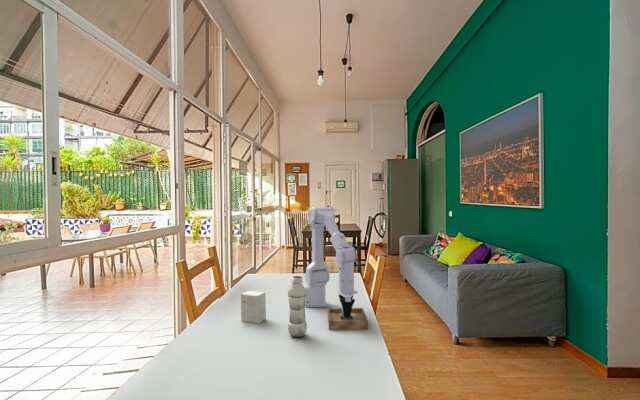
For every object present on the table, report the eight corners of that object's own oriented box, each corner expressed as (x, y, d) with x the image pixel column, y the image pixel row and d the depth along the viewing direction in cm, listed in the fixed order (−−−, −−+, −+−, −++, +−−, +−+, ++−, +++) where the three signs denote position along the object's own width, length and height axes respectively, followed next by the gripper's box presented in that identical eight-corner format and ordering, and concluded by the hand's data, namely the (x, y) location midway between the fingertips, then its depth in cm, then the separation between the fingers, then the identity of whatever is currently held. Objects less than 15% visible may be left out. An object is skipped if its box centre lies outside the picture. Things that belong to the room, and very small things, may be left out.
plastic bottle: (292, 340, 114) (292, 280, 114) (285, 333, 120) (284, 276, 120) (310, 336, 117) (309, 277, 117) (302, 330, 123) (301, 274, 123)
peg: (342, 321, 129) (341, 305, 129) (341, 318, 132) (341, 303, 132) (351, 321, 129) (350, 305, 129) (350, 318, 132) (350, 302, 132)
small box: (266, 319, 135) (266, 292, 135) (257, 323, 130) (257, 295, 130) (249, 316, 138) (249, 290, 138) (240, 320, 133) (240, 293, 133)
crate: (328, 329, 123) (328, 320, 123) (327, 316, 137) (327, 308, 137) (367, 329, 124) (367, 320, 124) (362, 316, 138) (362, 308, 138)
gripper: (359, 284, 123) (359, 322, 123) (354, 275, 138) (355, 309, 138) (339, 284, 123) (339, 322, 123) (337, 275, 138) (337, 309, 138)
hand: (346, 315), depth 131 cm, fingers closed on peg, 3 cm apart
